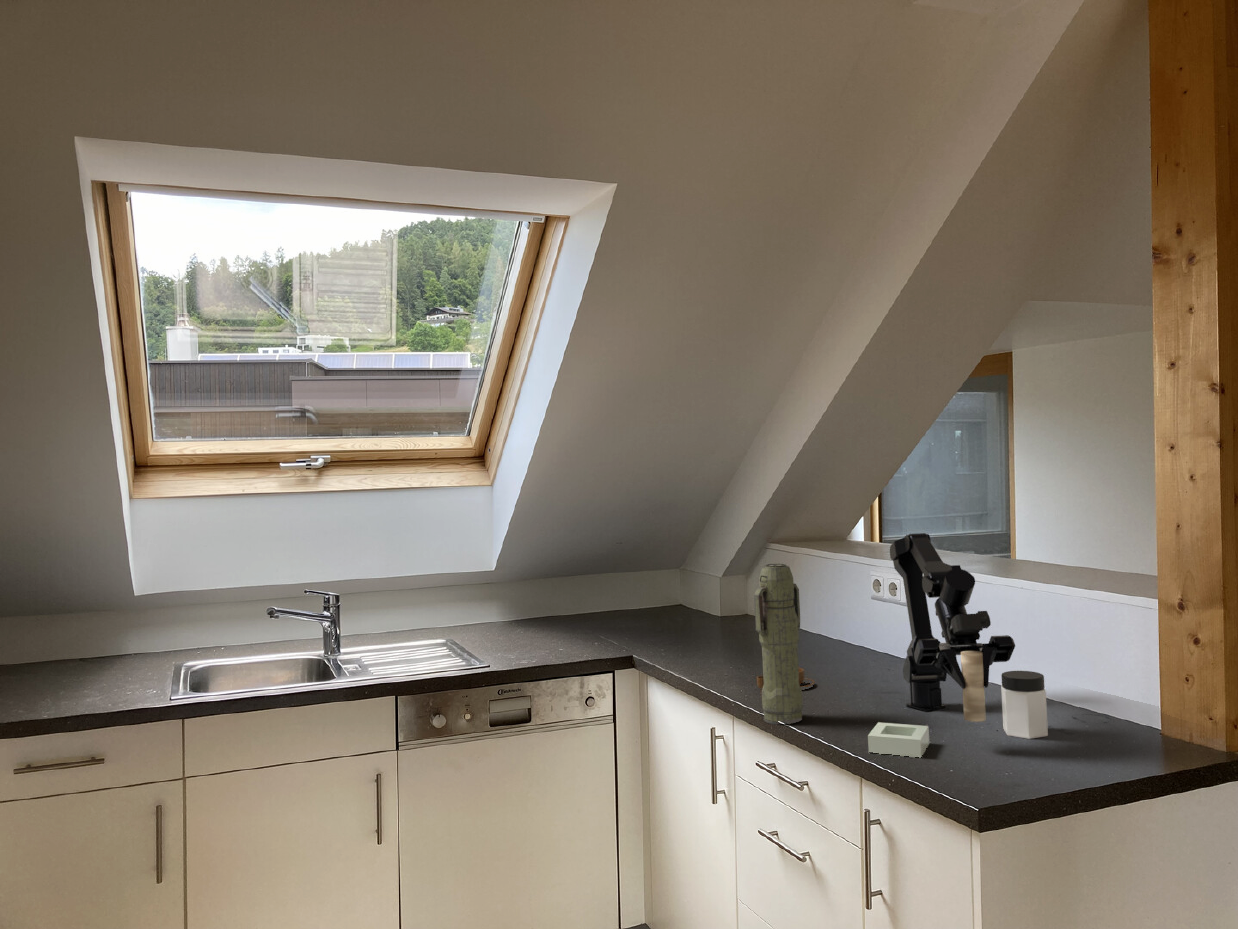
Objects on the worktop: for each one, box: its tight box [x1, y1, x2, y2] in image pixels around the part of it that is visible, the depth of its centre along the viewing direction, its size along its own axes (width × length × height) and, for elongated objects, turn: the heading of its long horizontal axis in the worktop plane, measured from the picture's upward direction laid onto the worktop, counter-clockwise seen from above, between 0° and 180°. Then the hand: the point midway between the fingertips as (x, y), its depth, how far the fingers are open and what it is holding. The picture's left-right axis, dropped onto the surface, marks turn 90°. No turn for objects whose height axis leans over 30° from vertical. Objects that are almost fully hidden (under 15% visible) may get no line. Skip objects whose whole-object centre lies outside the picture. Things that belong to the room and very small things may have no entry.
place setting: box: [756, 667, 815, 694], centre depth 245 cm, size 18×20×6 cm
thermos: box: [753, 563, 804, 726], centre depth 216 cm, size 9×12×35 cm
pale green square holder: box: [867, 721, 930, 759], centre depth 190 cm, size 10×10×4 cm
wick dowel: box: [960, 651, 987, 723], centre depth 187 cm, size 4×4×13 cm
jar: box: [1000, 670, 1049, 740], centre depth 197 cm, size 9×8×12 cm
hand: (975, 687), depth 185 cm, fingers closed on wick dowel, 4 cm apart
